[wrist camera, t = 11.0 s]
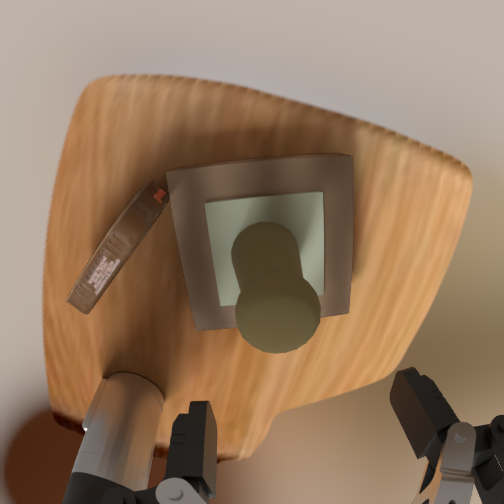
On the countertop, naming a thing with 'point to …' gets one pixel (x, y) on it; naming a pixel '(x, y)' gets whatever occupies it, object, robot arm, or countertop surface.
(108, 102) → the countertop surface
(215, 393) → the countertop surface
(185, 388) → the countertop surface
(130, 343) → the countertop surface
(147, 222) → the tin
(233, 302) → the stand
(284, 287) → the olive pepper mill
